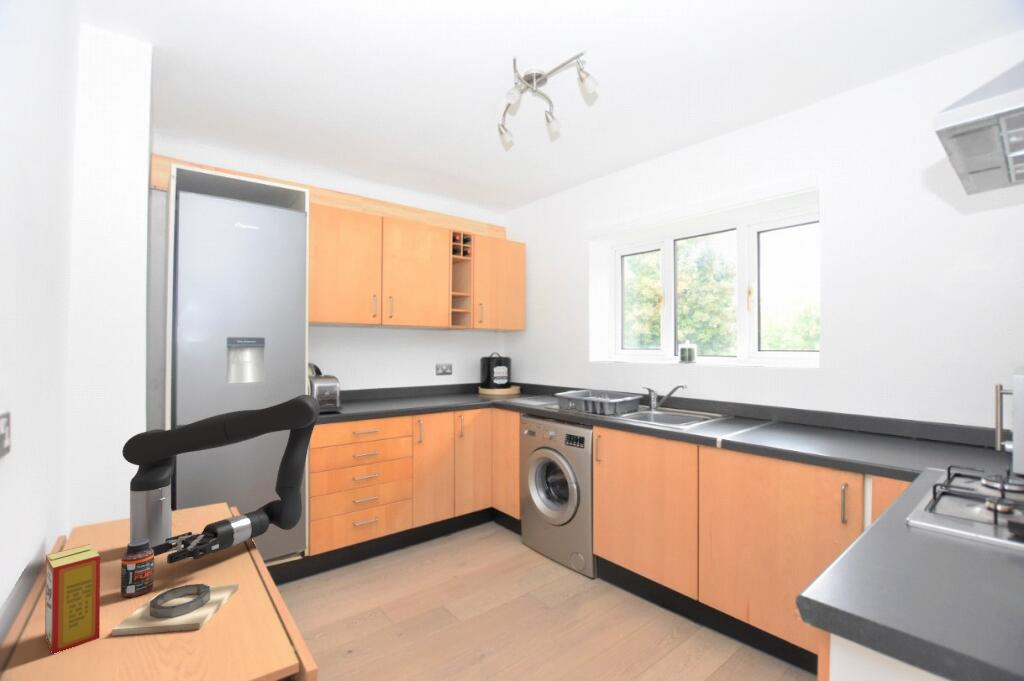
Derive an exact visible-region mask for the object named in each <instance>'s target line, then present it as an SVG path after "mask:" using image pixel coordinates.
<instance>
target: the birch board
mask: <svg viewBox="0 0 1024 681" xmlns="http://www.w3.org/2000/svg"><path fill="white" fill-rule="evenodd" d="M209 586H210V600H209V601H208V602H207V603H206V604H205V605H204V606H203V607H201V608H199V609H197V610H195V611H193V612H191V613H188V614H184V615H181V616H177V617H173V618H162V619H157V618H154V617H151V616H150V601H151V600H153V599H154V598H155V597H156V596H158V595H159V594H161V593H164V592H166V591H168V590H171V589H173V588H174V587H171V588H170V587H169V588H163V590H161V591H160V592H159V593H157V594H156V595H155V596H153V597H152V598H150V599H149V600H147V602H146V603H144V604H143V605H142V606H140V607H139V608H138V609H137V610H135V611H134V612H132V613H131V614H130V615H129V616H127V617H126V618H125V619H124V620H122V621H121V622H120V623H119V624H117V625H115V627H113V628H112V629H111V636H126V635H140V634H142V635H143V634H153V633H154V634H155V633H164V632H165V633H167V632H168V631H169V632H179V631H181V630H182V631H191V630H192V631H193V630H200V629H201V628H202V627H203V626H204V625H205V624H206V623H207V622H208V621H209V620H210V619H212V617H213V616H214V615H215V614H216V613H217V612H218V611H219V610H220V609H221V608H222V607H223V606H224V605H225V604H226V603H227V601H229V600H230V598H231V597H232V596H233V595H234V594H235V593H236V592H237V591H238V590H239V583H233V584H231V583H230V584H219V585H209ZM198 597H199V595H186V596H183V597H179V598H175V599H173V600H170V601H168V602H166V603H164V604H163V605H161V606H175V605H179V604H183V603H186V602H189V601H191V600H193V599H195V598H198Z"/></svg>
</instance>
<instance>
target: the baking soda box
mask: <svg viewBox="0 0 1024 681" xmlns="http://www.w3.org/2000/svg"><path fill="white" fill-rule="evenodd" d="M100 579H101V556H100V554H99V553H98V552H97V550H96V549H95V548H94V546H93V545H91V544H86V545H81V546H76V547H73V548H69V549H65V550H61V551H57V552H53V553H48V554H45V594H44V595H45V596H44V600H45V604H44V607H45V610H44V611H45V612H44V613H45V615H44V616H45V618H44V624H45V625H44V626H45V627H44V636H45V635H46V637H47V640H48V642H47V644H48V643H49V645H48V647H49V646H50V648H51V650H50V652H51V651H52V653H51V655H52V654H54V653H57V652H59V651H62V652H64V651H63V650H65V651H67V650H66V649H68V650H70V649H73V648H75V647H78V646H79V647H80V646H81V645H85V644H86V643H90V642H92V641H94V640H97V639H100V630H101V629H100V627H101V626H100V625H101V624H100V621H101V620H100V619H101V618H100V617H101V616H100V612H101V611H100V610H101V609H100V604H101V601H100V600H101V596H100V594H101V580H100ZM46 637H45V638H46ZM47 640H46V641H47ZM72 647H73V648H72ZM50 648H49V649H50ZM69 648H70V649H69ZM59 653H60V652H59ZM57 654H58V653H57ZM54 655H55V654H54Z"/></svg>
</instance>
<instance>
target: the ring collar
mask: <svg viewBox="0 0 1024 681" xmlns="http://www.w3.org/2000/svg"><path fill="white" fill-rule="evenodd" d="M210 586H211V585H208V584H203V583H196V584H195V583H191V584H186V585H181V586H178V587H177V586H176V587H172V588H173V589H171V590H168V591H166V592H164V593H161V594H159V595H158V596H156V595H155V596H156V597H155V596H154V597H155V598H154V599H153V600H151V599H150V600H151V601H150V616H151V617H154V618H157V619H162V618H173V617H177V616H181V615H184V614H188V613H191V612H193V611H195V610H197V609H199V608H201V607H203V606H204V605H205V604H206V603H207V602H208V601H209V600H210ZM186 595H199V597H198V598H195V599H193V600H191V601H189V602H186V603H183V604H179V605H175V606H161V605H163V604H164V603H166V602H168V601H170V600H173V599H175V598H179V597H183V596H186Z"/></svg>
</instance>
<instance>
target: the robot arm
mask: <svg viewBox="0 0 1024 681" xmlns="http://www.w3.org/2000/svg"><path fill="white" fill-rule="evenodd" d="M320 413H321V406H320V403H319V400H318V399H317V398H315V397H314V396H312V395H310V394H301V395H297V396H295V397H293V398H291V399H288V400H287V401H284V402H281V403H278V404H275V405H272V406H268V407H264V408H258V409H246V410H245V409H243V410H242V409H241V410H235V411H229V412H225V413H221V414H217V415H213V416H209V417H206V418H203V419H200V420H197V421H194V422H192V423H188V424H186V425H183V426H180V427H179V426H178V427H176V428H171V429H166V430H165V429H162V428H161V429H159V428H157V429H155V428H154V429H151V430H147V431H144V432H139V433H137V434H135V435H133V436H132V437H131V438H129V439H128V440H127V441H126V442H125V444H124V445H123V447H122V456H123V459H125V461H127V462H128V463H129V464H132V465H135V466H138V468H137V472H136V473H135V475H134V476H133V477H132V478H131V479H130V483H129V543H131V542H133V541H137V540H144V539H147V540H149V548H151V549H153V550H154V557H156V556H159V555H163V554H166V553H168V552H171V553H168V554H167V557H166V560H167V564H168V565H172V564H174V563H178V562H180V561H182V560H185V559H187V560H190V559H192V558H193V560H199V559H201V558H203V557H206V556H209V555H211V554H215V553H218V552H221V551H224V550H227V549H229V548H232V547H234V546H237V545H240V544H242V543H244V542H246V541H248V540H251V539H254V538H256V537H260V536H261V535H263V534H266V533H267V531H268V529H269V527H270V525H274V526H275V527H278V528H279V529H281V530H283V531H290V530H292V529H293V528H295V527H296V526H297V525H298V524H299V522H300V520H301V518H302V514H303V501H302V491H301V488H302V484H303V477H304V473H305V466H306V460H307V456H308V452H309V451H308V449H309V445H310V441H311V438H312V435H313V432H314V429H315V425H316V423H317V420H318V419H319V418H318V417H319V415H320ZM282 431H289V435H288V440H287V443H286V446H285V448H284V451H283V454H282V457H281V460H280V463H279V466H278V470H277V476H276V482H275V494H276V495H277V496H278V497H279V498H280V499H275V500H272V501H271V500H270V502H268V503H265V504H264V505H263V506H260V507H258V509H256V510H253V511H250V512H246V513H244V514H240V515H234V516H231V517H230V516H229V517H227V518H223V519H220V520H218V521H214V522H211V523H208V524H206V525H205V526H204V528H203V531H202V532H200V533H198V532H197V533H193V532H192V531H188V532H184V533H182V534H178V535H174V536H172V535H173V534H172V533H173V532H172V530H173V526H172V525H173V523H172V522H173V520H172V518H173V517H172V515H173V512H172V508H171V504H172V503H171V500H172V499H171V496H172V495H171V487H172V486H171V483H172V482H171V481H172V476H173V474H174V471H175V457H176V456H177V455H181V454H185V453H186V454H187V453H192V452H199V451H206V450H211V449H216V448H221V447H226V446H230V445H235V444H238V443H242V442H245V441H248V440H249V441H250V440H252V439H254V438H257V437H260V436H263V435H266V434H271V433H276V432H282Z"/></svg>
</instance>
